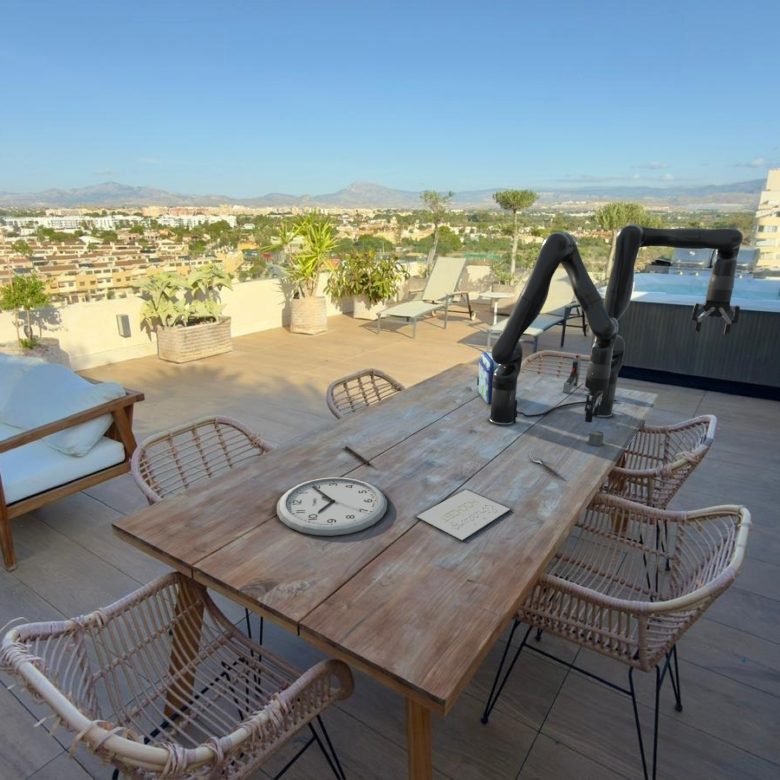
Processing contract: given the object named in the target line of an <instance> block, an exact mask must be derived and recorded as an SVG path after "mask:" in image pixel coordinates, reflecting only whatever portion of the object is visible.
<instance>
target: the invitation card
mask: <svg viewBox="0 0 780 780" xmlns="http://www.w3.org/2000/svg"><path fill="white" fill-rule="evenodd" d="M510 510H511V508H509V507H507V506H504V505H503V504H500V503H498V502H496V501H493V500H492V499H491V500H490V499H488V498H487V497H484V496H481V495H479V494H477V493H474V492H472V491H470V490H468V489H464V490H462V491H460V492H458V493H456V494H455V495H453V496H451V497H449V498H447V499H446V500H443V501H441V502H440V503H438V504H437V505H434V506H433V507H430V508H429V509H427V510H425V511H423V512H422V513H420V514H418V515H416V518H418V519H420V520H421V521H423V522H426V523H427V524H428V525H429V524H430V525H431V526H433V527H435V528H437V529H439V530H440V531H442V532H445V533H446V534H448V535H450V536H453V537H454V538H456V539H457V540H460V541H463V540H465V539H467V538H468V537H470V536H472V535H473V534H474V533H476V532H478V531H480V530H481V529H482V528H484V527H485V526H487V525H488V524H490V523H492V522H493V521H495V520H496V519H498V518H499V517H501V516H503V515H504V514H506V513H507V512H509V511H510Z"/></svg>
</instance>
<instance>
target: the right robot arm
mask: <svg viewBox="0 0 780 780" xmlns="http://www.w3.org/2000/svg"><path fill="white" fill-rule="evenodd" d="M743 241H744V235H743V233H742V232H741V231H740V229H738V228H713V229H712V228H702V227H701V228H700V227H699V228H697V227H685V228H683V227H682V228H657V227H656V228H654V227H649V226H648V227H647V226H642V225H638V224H628V225H625V226H623V227H621V228H620V229H619V231H618V232H617V234H616V237H615V250H614V258H613V264H612V267H611V270H610V274H609V278H608V281H607V285H606V289H605V295H604V299H603V301H604V304H605V306H604V308H605V310H606V312H607V314H608V316H612V317H614V318H615V319H616V320H617V322H618V321H619V320H620V319H621V317H622V316H623V315H624V314H625V312H626V310H627V309H628V308H629V305H630V303H631V300H632V295H633V291H634V290H633V289H634V283H635V282H634V281H635V265H636V260H637V257H638V255H639V250H640V249H641V248H646V247H664V248H665V247H666V248H671V249H672V248H674V249H684V250H706V249H708V250H709V249H710V250H716V251H715V258H714V260H713V261H714V262H713V264H712V269H711V274H710V278H709V281H708V286H707V291H706V296H705V301H704V303H699V302H695V303H694V305H693V309H692V312H691V316H690V318H691V320H692V321H694V322H695V326H694V331H696V333H700V331H701V326H702V321H703V320H704V319H705V318H707V317H708V316H709V317H710V318H713V317H716V318H721V317H722V318H723V319H724V321H725V325H724V329H723V335H724V336H726V335H728V334H729V333H730V331H731V326H732V325H733V324H737V323H738V322H739V315H740V310H741V307H740V306H739V305H737V304H736V305H731V299H732V297H733V296H732V295H733V291H734V288H735V278H736V272H737V267H738V256H739V252H740V249H741V244H742V243H743ZM702 308H703V310H704V311H703V312H702V313H701V314H700V315H699V316H698V317H697V315H698V311H699V310H701V309H702ZM730 310H731V311H732V312H733V314H732V315H733V316H732V319H730V317H729V315H728V314H727V313H728V312H729V311H730ZM595 337H596V336H595V335H594V338H593V342H592V346H593V345H594V342H595ZM625 351H626V343H625V340H624V338H623V337H622V336H621V335H619V334H617V337H616V341H615V344H614V348H613V355H612V361H611V372H610V379H609V385H608V389H607V390H604V391H603V395H602V402H601V403H600V406H599V410H598V415H597V416H596V417H597V418H611V417H612V416H613V409H614V404H615V402H614V400H615V398H616V397H615V396H616V389H617V384H618V376H619V372H620V371H621V369H622V365H623V361H624V355H625ZM588 390H589V392H590V391H591V390H590V389H589V388H588ZM589 409H591V406H589Z"/></svg>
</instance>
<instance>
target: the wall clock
mask: <svg viewBox="0 0 780 780" xmlns="http://www.w3.org/2000/svg"><path fill="white" fill-rule="evenodd" d="M387 509H388V500H387V498H386V496H385V494H384V493H383V492H382V491H381V490H380V489H379V488H377V487H376V486H374V485H372V484H371V483H369V482H365V481H362V480H359V479H355V478H349V477H338V476H337V477H335V476H333V477H332V476H331V477H322V478H317V479H312V480H307V481H305V482H302V483H299V484H297V485H295V486H293V487H292V488H290V489H288V490H287V491H286V492H285V493H284V494H283V495H281V496H280V498H279V499H278V502H277V503H276V515H277V517H278V518H279V520H280V521H281V522H282V523H283V524H285V525H286V526H287V527H288V528H290V529H293V530H295V531H297V532H299V533H303V534H308V535H312V536H327V537H328V536H329V537H331V536H332V537H333V536H342V535H350V534H352V533H356V532H361V531H363V530H366V529H368V528H369V527H372V526H373V525H375V524H376V523H378V522H379V521H380V520H381V519H382V518H383V517H384V516H385V514H386V512H387Z"/></svg>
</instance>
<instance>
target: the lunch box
mask: <svg viewBox="0 0 780 780" xmlns="http://www.w3.org/2000/svg"><path fill="white" fill-rule="evenodd" d="M498 366H499V364H497V363H496V362H494V360H493V358H492V349H491V351H482V352H481V354H480V358H479V360H478V377H477V381H476V384H477V385H476V386H478V393H479V395H480V396H481V397H482V399H483V400H484V402H485V404H487V405H488V406H489V405H490V406H491V398H492V385H493V374H494V372H495V370H496V369H497V368H498Z"/></svg>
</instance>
